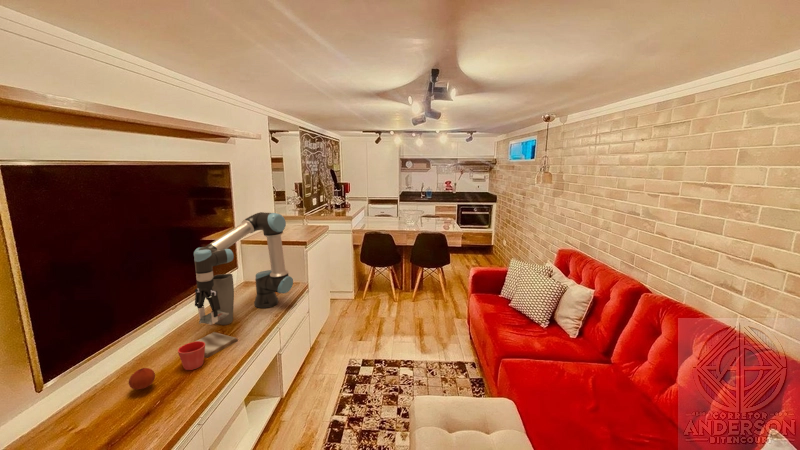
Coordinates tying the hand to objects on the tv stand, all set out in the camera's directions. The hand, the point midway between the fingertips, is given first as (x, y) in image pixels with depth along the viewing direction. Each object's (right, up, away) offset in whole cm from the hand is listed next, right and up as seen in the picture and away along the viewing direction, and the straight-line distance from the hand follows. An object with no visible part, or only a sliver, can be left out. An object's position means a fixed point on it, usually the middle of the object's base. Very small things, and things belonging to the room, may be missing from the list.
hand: (208, 320), depth 169 cm
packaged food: (+2, -4, 0) cm, 4 cm away
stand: (0, -14, +2) cm, 14 cm away
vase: (-7, -10, +28) cm, 30 cm away
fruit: (-10, -19, -31) cm, 38 cm away
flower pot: (+2, -17, -16) cm, 23 cm away
